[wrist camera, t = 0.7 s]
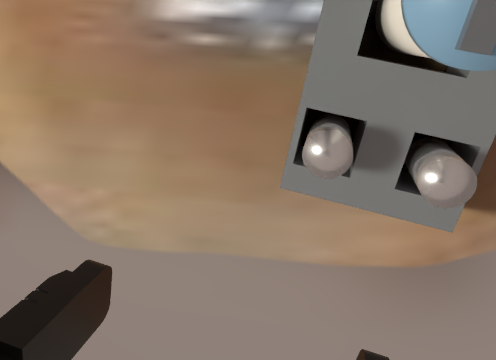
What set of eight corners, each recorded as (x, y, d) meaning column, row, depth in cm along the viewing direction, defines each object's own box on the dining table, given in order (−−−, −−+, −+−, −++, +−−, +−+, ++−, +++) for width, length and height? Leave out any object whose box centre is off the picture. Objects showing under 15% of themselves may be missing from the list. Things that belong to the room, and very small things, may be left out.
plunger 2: (413, 132, 27) (430, 153, 21) (457, 143, 26) (486, 166, 21) (398, 172, 28) (412, 201, 23) (441, 182, 27) (464, 214, 22)
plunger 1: (314, 110, 28) (308, 125, 22) (355, 119, 27) (359, 137, 22) (304, 149, 29) (297, 172, 24) (344, 159, 28) (345, 184, 23)
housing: (348, -84, 25) (350, -111, 21) (541, -54, 24) (589, -78, 19) (288, 167, 32) (279, 187, 27) (435, 203, 30) (452, 232, 26)
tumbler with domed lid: (386, -38, 26) (444, -140, 11) (472, -24, 25) (652, -114, 11) (362, 48, 28) (385, 54, 13) (441, 64, 27) (555, 87, 13)
